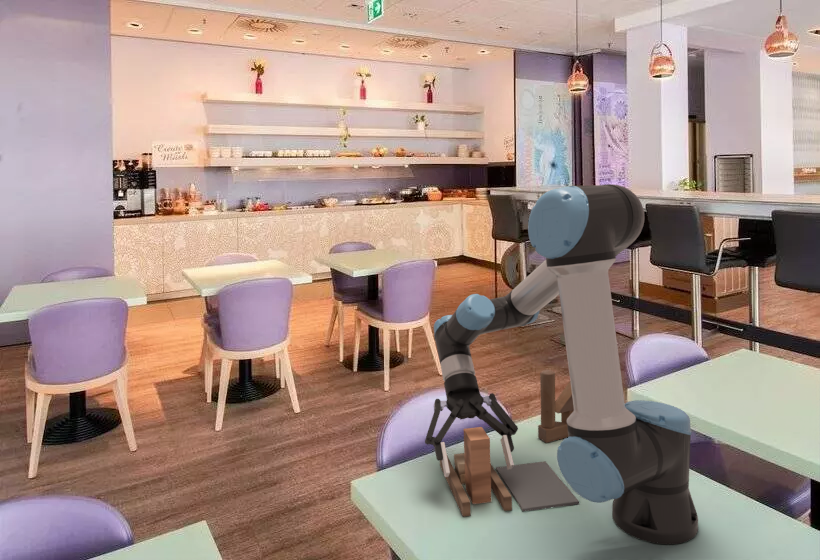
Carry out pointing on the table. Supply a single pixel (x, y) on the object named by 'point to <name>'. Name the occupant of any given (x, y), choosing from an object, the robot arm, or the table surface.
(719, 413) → the table surface
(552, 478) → the mat
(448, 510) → the table surface
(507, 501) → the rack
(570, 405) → the brown wooden forked piece
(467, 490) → the tall board
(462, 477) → the offcut lower
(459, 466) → the offcut upper
